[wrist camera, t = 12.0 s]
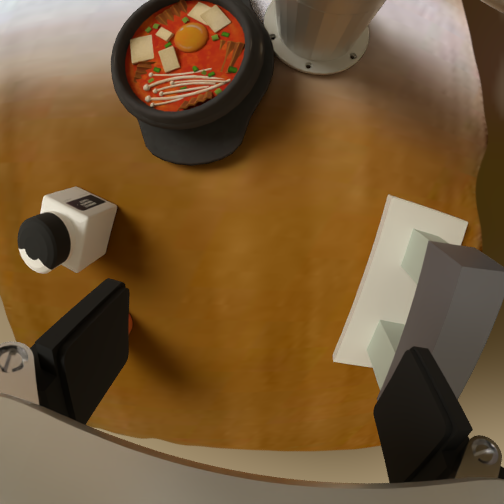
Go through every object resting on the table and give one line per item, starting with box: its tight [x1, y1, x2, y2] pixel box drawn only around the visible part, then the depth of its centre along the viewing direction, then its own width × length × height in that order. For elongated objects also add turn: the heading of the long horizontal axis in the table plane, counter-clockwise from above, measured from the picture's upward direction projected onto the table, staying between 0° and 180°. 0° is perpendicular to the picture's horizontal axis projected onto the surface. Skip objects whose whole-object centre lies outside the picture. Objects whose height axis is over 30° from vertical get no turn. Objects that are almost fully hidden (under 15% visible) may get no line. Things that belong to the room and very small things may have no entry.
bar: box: [377, 241, 504, 401], centre depth 27 cm, size 20×6×7 cm, turn 175°
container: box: [18, 187, 117, 273], centre depth 36 cm, size 8×8×13 cm
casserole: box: [111, 0, 274, 165], centre depth 30 cm, size 25×19×8 cm
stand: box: [333, 195, 468, 391], centre depth 36 cm, size 24×12×10 cm, turn 168°
